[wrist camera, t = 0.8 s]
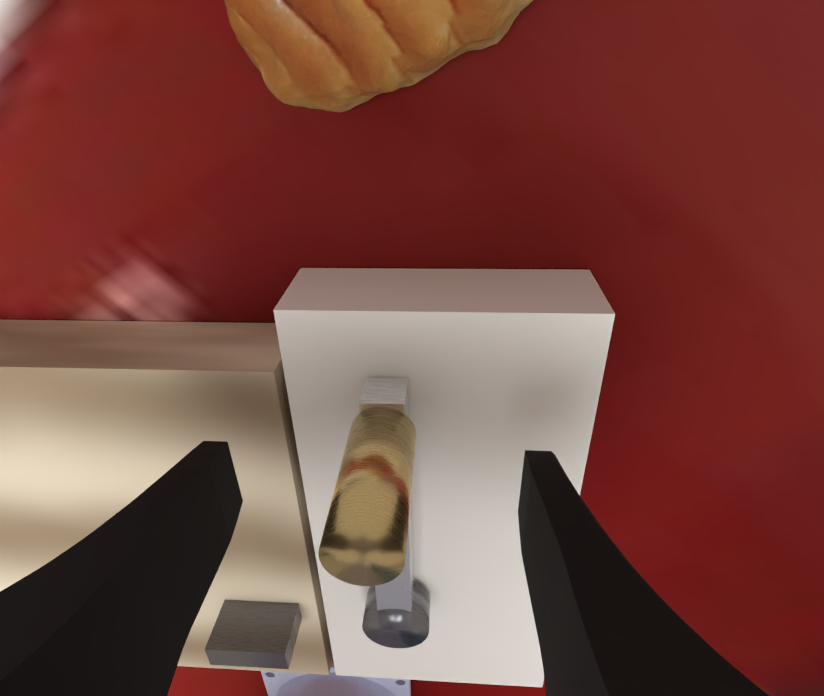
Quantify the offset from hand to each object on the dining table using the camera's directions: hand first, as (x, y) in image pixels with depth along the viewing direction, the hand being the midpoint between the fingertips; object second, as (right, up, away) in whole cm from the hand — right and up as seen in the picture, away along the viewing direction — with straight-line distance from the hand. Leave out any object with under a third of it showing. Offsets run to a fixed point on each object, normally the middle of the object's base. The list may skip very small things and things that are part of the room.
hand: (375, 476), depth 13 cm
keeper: (-5, -7, +8) cm, 12 cm away
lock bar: (0, -3, +5) cm, 6 cm away
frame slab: (+2, -2, +8) cm, 9 cm away
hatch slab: (-10, -3, +10) cm, 14 cm away
